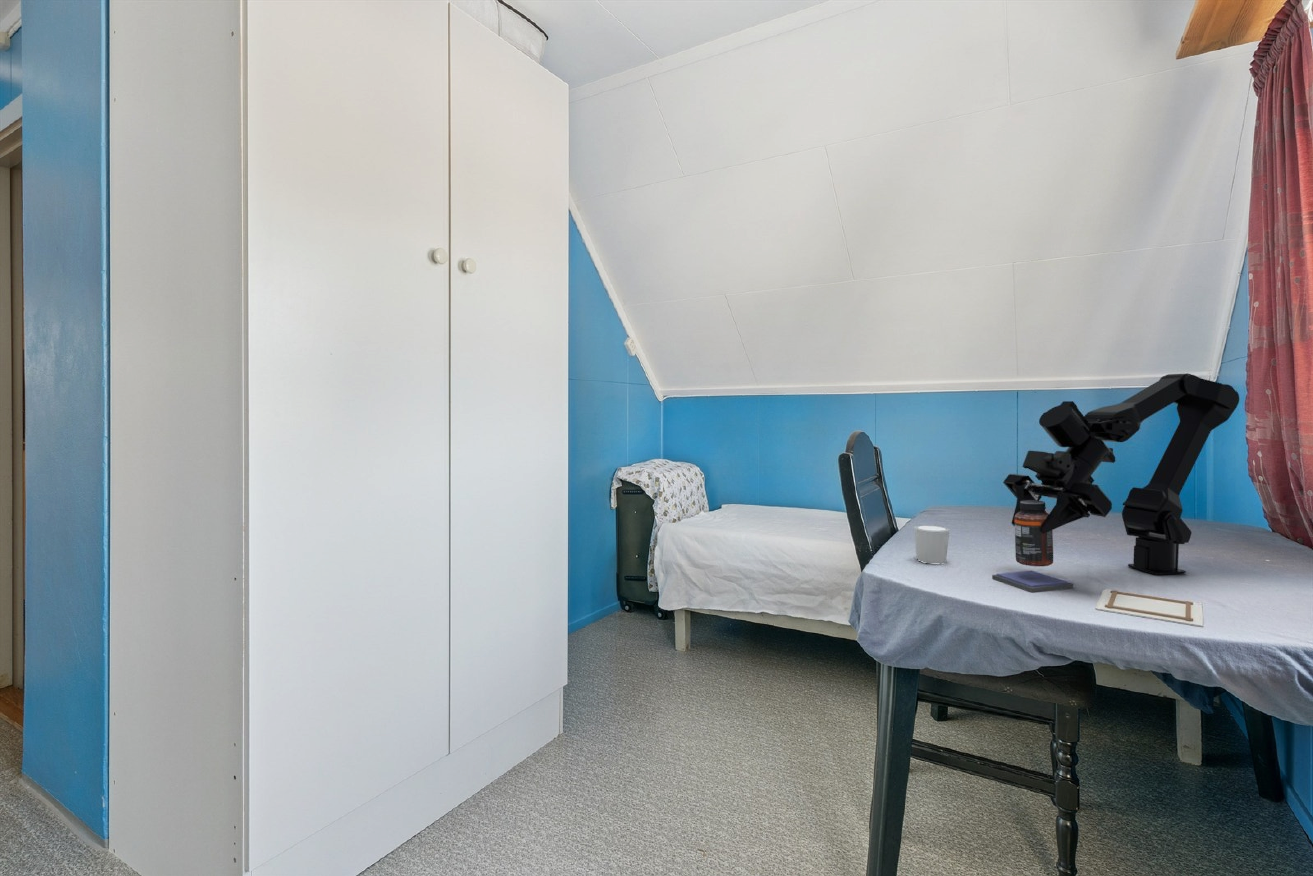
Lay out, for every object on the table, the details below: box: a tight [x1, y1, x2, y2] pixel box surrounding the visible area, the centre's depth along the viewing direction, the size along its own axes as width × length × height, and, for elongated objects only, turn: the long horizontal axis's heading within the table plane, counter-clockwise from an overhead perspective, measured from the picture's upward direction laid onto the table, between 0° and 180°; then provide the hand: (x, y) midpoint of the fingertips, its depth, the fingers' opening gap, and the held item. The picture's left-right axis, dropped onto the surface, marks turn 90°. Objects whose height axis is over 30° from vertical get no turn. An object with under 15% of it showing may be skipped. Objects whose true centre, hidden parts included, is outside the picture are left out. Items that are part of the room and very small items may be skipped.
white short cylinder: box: [913, 524, 951, 564], centre depth 132 cm, size 7×7×7 cm
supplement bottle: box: [1014, 500, 1054, 567], centre depth 115 cm, size 6×6×11 cm
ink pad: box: [991, 570, 1074, 593], centre depth 116 cm, size 9×9×1 cm
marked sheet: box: [1094, 588, 1204, 628], centre depth 102 cm, size 13×13×1 cm
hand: (1027, 528), depth 115 cm, fingers closed on supplement bottle, 6 cm apart
